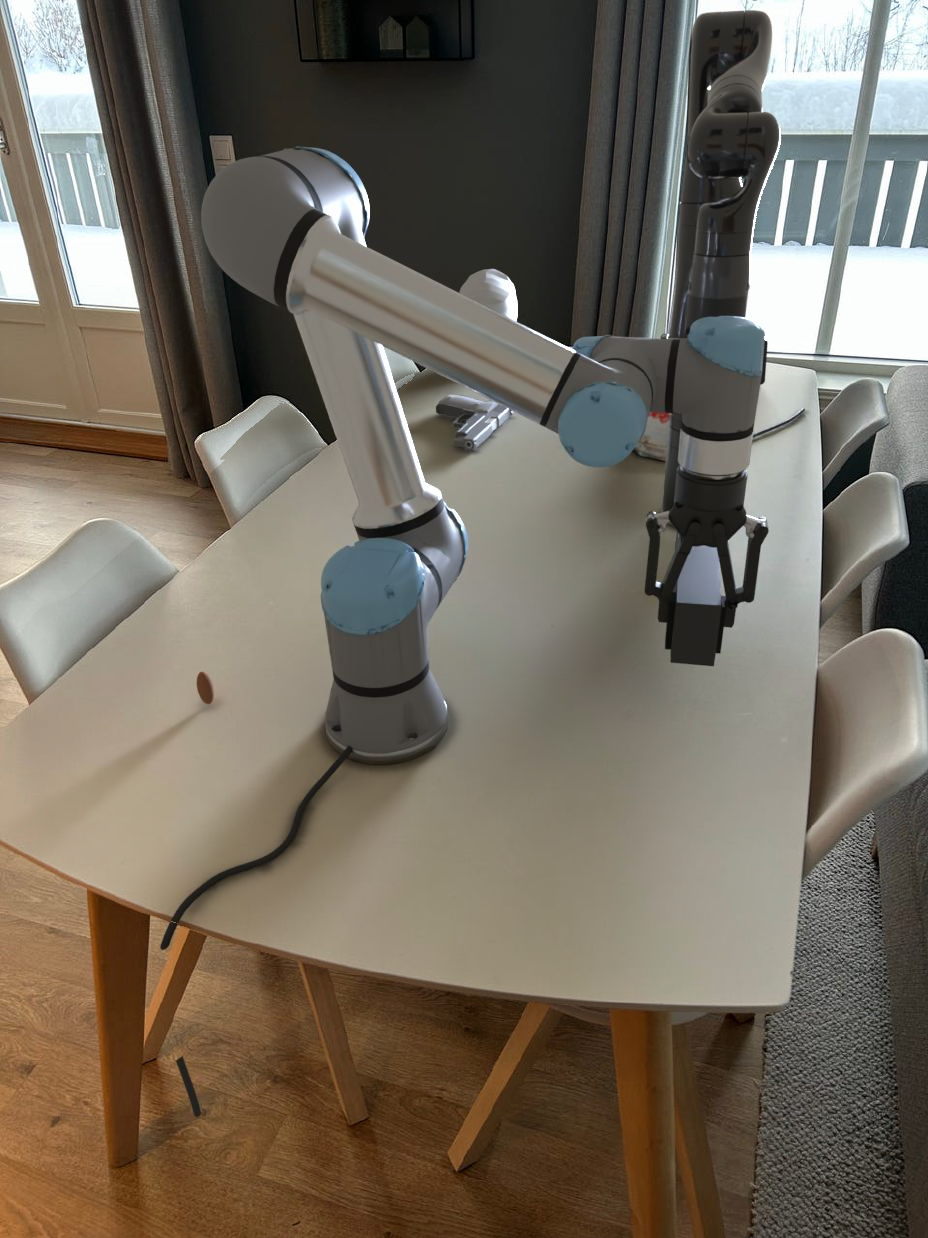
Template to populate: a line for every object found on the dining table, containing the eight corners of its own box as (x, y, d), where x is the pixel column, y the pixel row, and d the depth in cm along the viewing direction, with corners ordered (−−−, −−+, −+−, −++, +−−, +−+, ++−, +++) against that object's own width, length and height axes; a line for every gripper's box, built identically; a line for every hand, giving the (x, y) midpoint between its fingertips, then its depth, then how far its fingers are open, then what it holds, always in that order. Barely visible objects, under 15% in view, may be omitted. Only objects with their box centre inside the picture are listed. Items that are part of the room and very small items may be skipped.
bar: (713, 666, 108) (721, 605, 103) (670, 663, 109) (676, 602, 104) (710, 562, 130) (716, 508, 125) (673, 559, 131) (678, 506, 126)
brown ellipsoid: (219, 703, 119) (212, 671, 116) (206, 710, 118) (198, 678, 115) (211, 696, 120) (204, 665, 117) (198, 703, 119) (190, 672, 116)
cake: (752, 431, 195) (758, 385, 190) (713, 470, 178) (719, 421, 173) (651, 415, 206) (654, 372, 201) (606, 451, 189) (608, 404, 184)
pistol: (401, 445, 198) (477, 454, 191) (400, 428, 196) (476, 436, 189) (449, 406, 217) (519, 413, 210) (448, 390, 215) (519, 397, 208)
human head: (525, 334, 255) (519, 254, 235) (516, 385, 243) (510, 305, 223) (470, 333, 258) (461, 254, 237) (459, 384, 246) (448, 305, 226)
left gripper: (796, 457, 100) (767, 634, 112) (630, 450, 103) (619, 623, 116) (803, 484, 94) (772, 669, 106) (626, 476, 97) (615, 656, 109)
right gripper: (773, 284, 118) (757, 406, 126) (662, 284, 121) (653, 403, 129) (778, 296, 112) (761, 423, 120) (660, 295, 115) (651, 420, 123)
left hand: (692, 645), depth 111 cm, fingers closed on bar, 5 cm apart
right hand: (705, 413), depth 124 cm, fingers open, 8 cm apart
